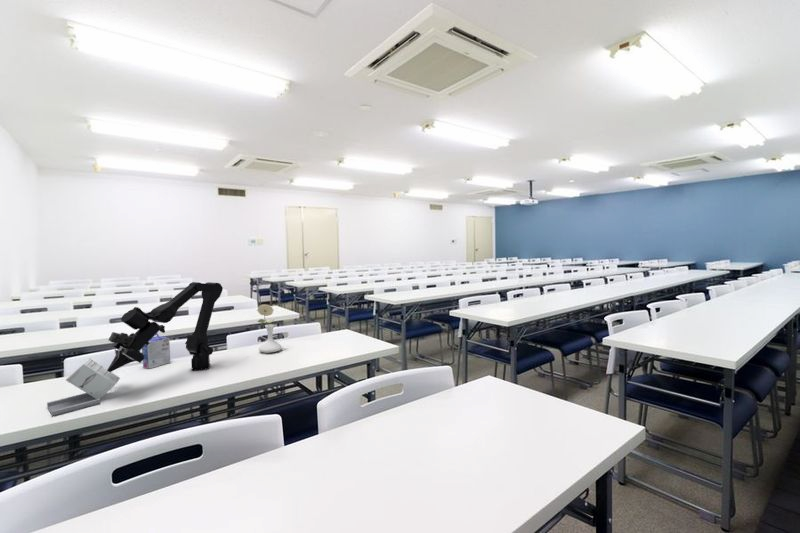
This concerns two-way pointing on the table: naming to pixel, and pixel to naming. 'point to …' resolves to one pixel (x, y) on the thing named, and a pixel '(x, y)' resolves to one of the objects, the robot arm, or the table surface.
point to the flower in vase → (270, 343)
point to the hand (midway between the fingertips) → (108, 371)
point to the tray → (71, 404)
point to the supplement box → (93, 379)
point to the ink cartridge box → (156, 352)
